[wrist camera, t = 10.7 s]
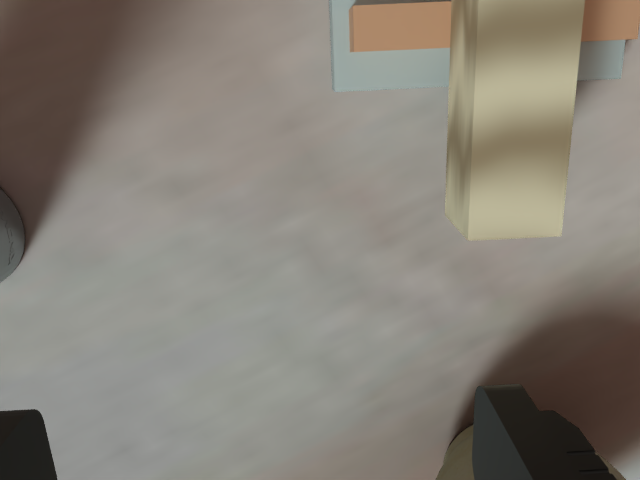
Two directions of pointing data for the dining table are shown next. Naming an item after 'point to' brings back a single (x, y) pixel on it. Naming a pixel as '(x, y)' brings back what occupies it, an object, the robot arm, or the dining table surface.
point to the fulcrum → (448, 42)
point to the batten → (511, 115)
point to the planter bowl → (458, 459)
